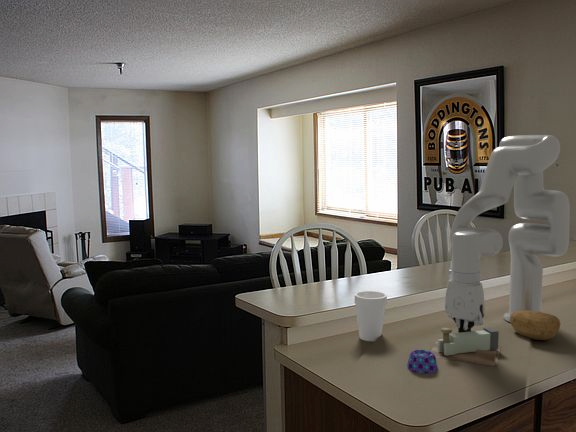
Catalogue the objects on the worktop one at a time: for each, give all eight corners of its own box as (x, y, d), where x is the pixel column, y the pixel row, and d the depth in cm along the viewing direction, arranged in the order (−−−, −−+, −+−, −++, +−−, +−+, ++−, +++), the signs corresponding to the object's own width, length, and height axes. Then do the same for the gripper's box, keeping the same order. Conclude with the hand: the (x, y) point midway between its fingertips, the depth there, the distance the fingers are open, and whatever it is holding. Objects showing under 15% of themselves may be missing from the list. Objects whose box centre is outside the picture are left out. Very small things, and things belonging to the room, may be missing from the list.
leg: (445, 355, 148) (446, 337, 147) (437, 350, 152) (438, 332, 151) (498, 349, 152) (499, 331, 151) (489, 344, 156) (490, 327, 155)
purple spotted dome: (427, 387, 132) (428, 365, 132) (387, 372, 141) (387, 352, 141) (456, 374, 140) (457, 353, 139) (417, 360, 149) (417, 341, 148)
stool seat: (438, 341, 163) (438, 315, 162) (500, 350, 156) (501, 322, 155) (427, 360, 148) (428, 332, 147) (496, 370, 141) (497, 340, 140)
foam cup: (385, 344, 161) (386, 299, 160) (353, 342, 163) (353, 298, 162) (386, 333, 170) (387, 291, 169) (355, 331, 172) (356, 290, 171)
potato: (517, 329, 173) (518, 304, 172) (565, 340, 163) (566, 313, 162) (502, 336, 167) (503, 310, 166) (551, 348, 156) (552, 320, 156)
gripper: (434, 274, 157) (433, 337, 159) (481, 284, 145) (479, 352, 148) (451, 270, 162) (450, 332, 164) (498, 279, 150) (496, 346, 152)
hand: (464, 341), depth 156 cm, fingers closed
